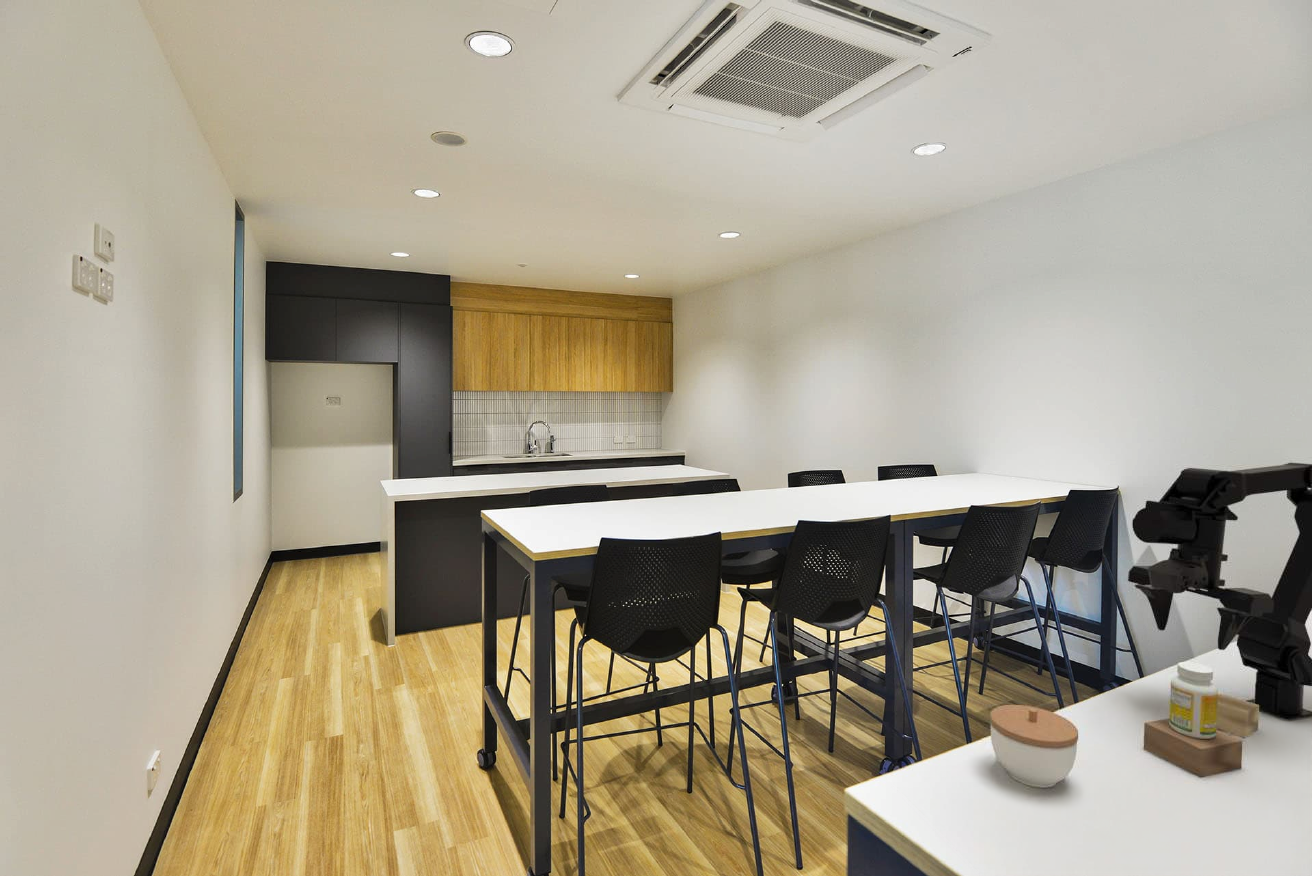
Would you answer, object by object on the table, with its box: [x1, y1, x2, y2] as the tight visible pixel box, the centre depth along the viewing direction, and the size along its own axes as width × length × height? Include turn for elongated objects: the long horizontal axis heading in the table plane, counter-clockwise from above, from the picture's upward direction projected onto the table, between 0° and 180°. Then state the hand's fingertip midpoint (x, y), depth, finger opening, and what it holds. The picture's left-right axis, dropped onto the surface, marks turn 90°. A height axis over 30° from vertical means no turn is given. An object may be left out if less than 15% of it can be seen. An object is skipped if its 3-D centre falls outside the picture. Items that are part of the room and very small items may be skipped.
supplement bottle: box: [1168, 661, 1219, 739], centre depth 96 cm, size 5×5×10 cm
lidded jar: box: [989, 704, 1079, 789], centre depth 92 cm, size 11×11×9 cm
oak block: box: [1216, 693, 1260, 739], centre depth 106 cm, size 5×5×4 cm
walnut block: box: [1143, 717, 1243, 778], centre depth 97 cm, size 8×8×4 cm
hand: (1190, 639), depth 109 cm, fingers open, 9 cm apart
